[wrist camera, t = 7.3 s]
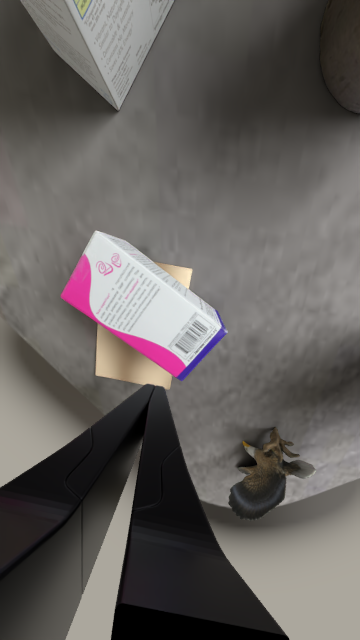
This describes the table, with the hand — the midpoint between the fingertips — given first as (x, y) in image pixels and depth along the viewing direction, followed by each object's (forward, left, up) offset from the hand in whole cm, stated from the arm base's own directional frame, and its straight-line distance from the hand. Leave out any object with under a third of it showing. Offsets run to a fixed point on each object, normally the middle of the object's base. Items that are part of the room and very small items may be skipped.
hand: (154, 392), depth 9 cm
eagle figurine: (-13, +15, -12) cm, 24 cm away
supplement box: (-3, +1, -8) cm, 9 cm away
